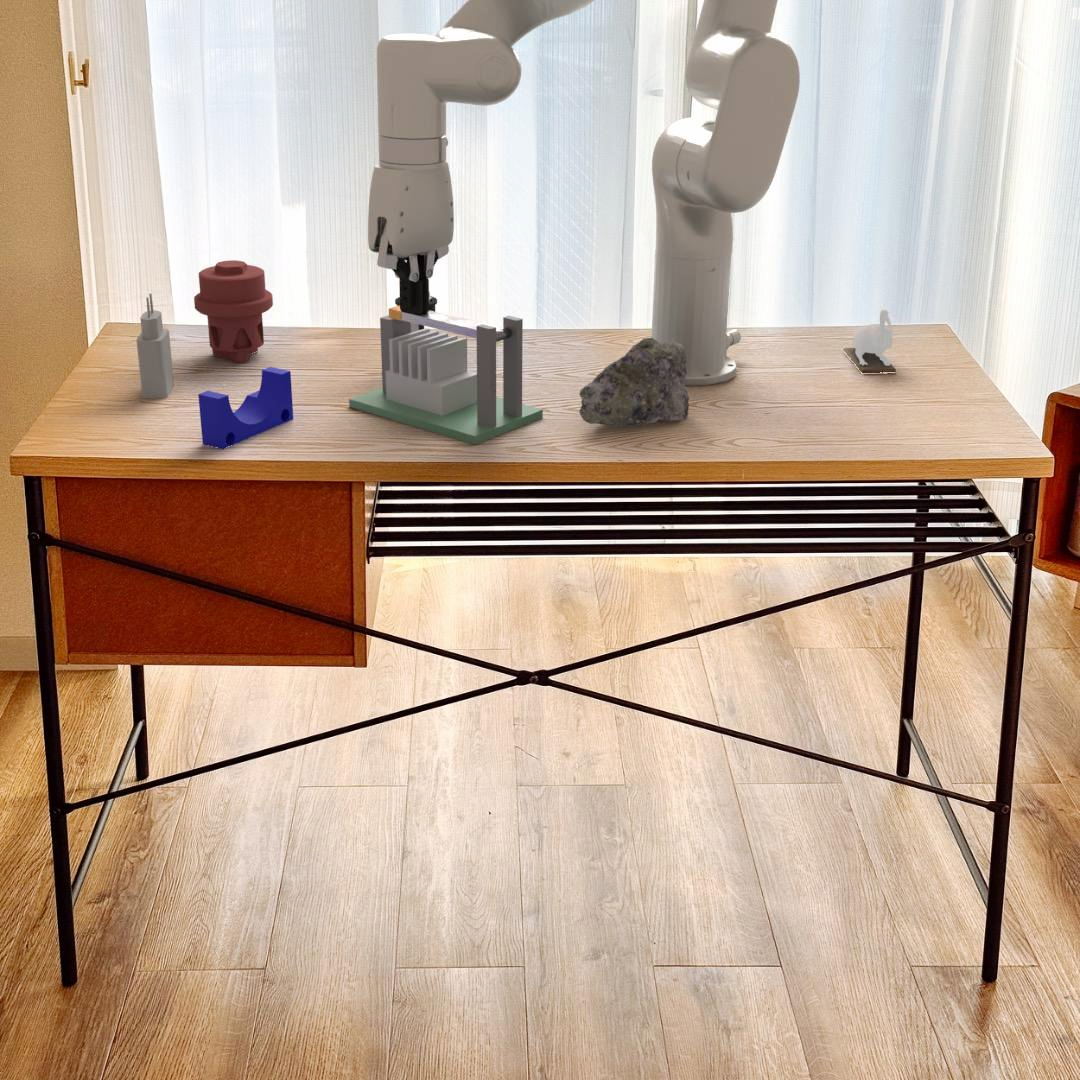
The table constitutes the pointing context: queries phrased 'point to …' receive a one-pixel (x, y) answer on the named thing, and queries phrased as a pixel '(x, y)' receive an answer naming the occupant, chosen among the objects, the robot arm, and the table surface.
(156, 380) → the power adapter
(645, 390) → the mineral rock
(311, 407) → the table surface
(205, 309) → the mechanical component
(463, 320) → the hinged grey bar
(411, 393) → the board
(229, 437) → the blue cradle bracket
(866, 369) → the figurine
